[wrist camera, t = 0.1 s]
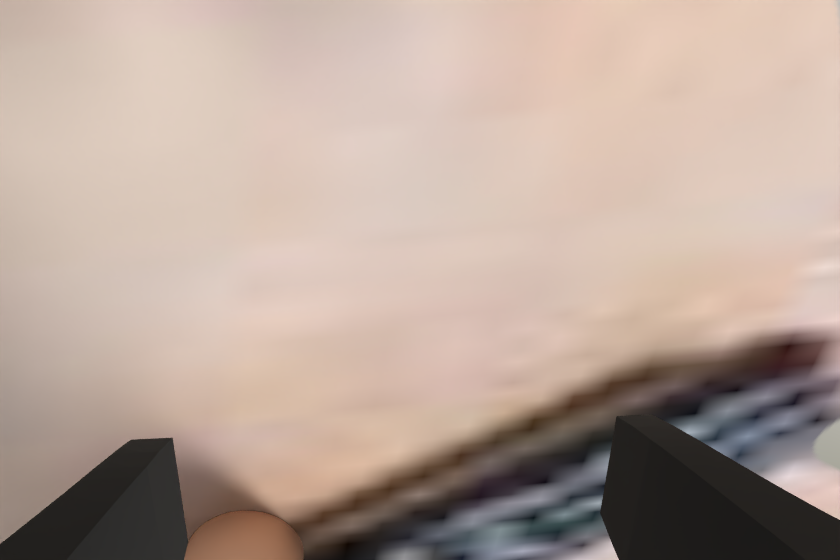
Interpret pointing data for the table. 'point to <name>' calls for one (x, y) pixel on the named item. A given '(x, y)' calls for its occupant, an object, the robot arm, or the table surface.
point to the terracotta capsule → (245, 538)
